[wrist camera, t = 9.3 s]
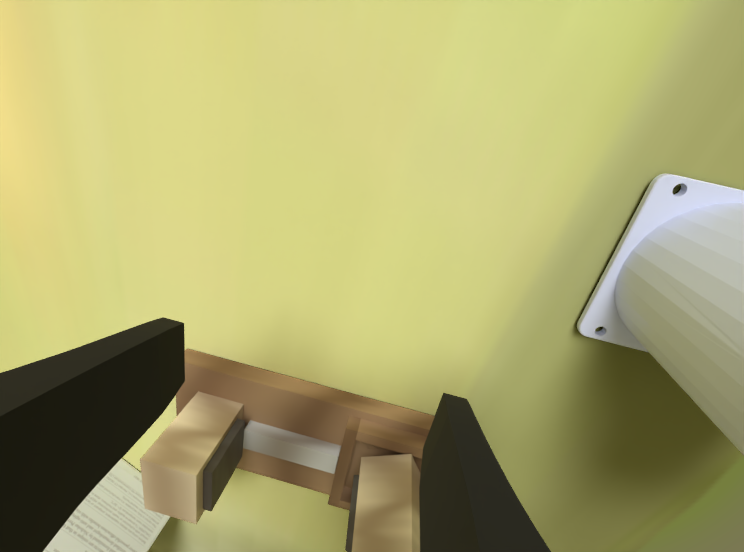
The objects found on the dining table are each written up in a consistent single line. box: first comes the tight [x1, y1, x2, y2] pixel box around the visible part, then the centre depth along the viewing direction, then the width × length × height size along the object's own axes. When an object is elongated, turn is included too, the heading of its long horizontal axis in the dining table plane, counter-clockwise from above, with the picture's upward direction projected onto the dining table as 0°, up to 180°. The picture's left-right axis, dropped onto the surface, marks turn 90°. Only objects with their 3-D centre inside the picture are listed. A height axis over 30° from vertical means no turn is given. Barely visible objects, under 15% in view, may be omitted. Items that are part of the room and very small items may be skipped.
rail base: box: [140, 349, 435, 524], centre depth 22 cm, size 18×8×6 cm, turn 78°
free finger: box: [345, 454, 421, 552], centre depth 20 cm, size 4×4×5 cm
